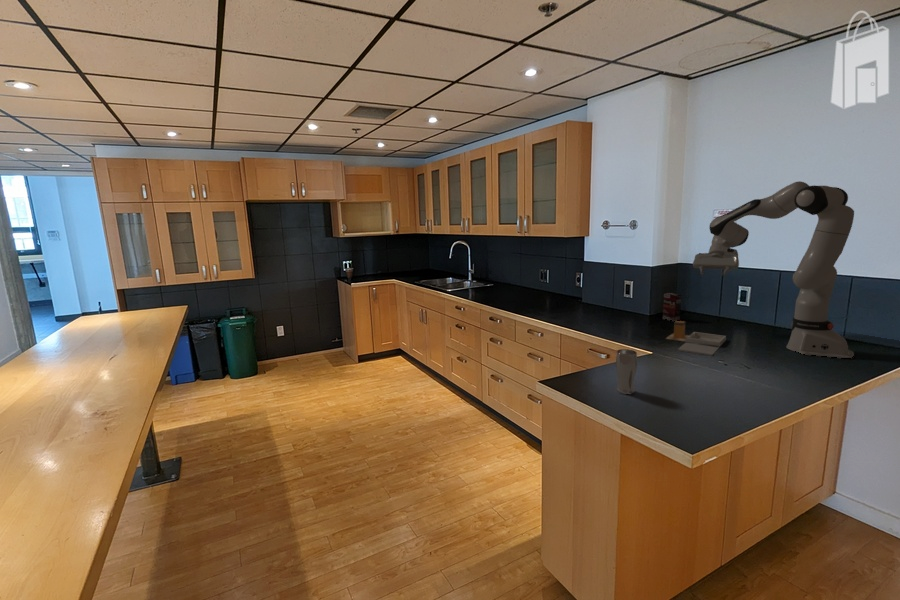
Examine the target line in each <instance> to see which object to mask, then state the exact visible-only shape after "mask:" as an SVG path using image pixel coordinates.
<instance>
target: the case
mask: <svg viewBox="0 0 900 600" xmlns="http://www.w3.org/2000/svg"><path fill="white" fill-rule="evenodd" d="M726 341H727V335H722V334H714V333H713V334H712V333H706V332H697V331H693V332H692V333H690V334H689V336H688V337H687V338H686V342H685V343H683V344H682V345H681V346H680V347H678V348H677V352H683V353H684V352H685V353H690V354H697V355H700V356H701V355H702V356H709V357H713V356H714V355H715V354H714V353H716V351H717V350H719V348H720V347H721V346H722V345H723V344H725V342H726Z"/></svg>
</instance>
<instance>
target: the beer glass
mask: <svg viewBox="0 0 900 600" xmlns="http://www.w3.org/2000/svg"><path fill="white" fill-rule="evenodd" d="M637 356H638V354H637V351H635V350H633V349H629V348H627V349H626V348H623V349H622V348H621V349H618V350H616V356H615V370H616V374H617V375H616V376H617V385H616V389H617V390H618V391H619V392H622V393H633V392H634V393H635V386H634V383H635V376H636V373H637V369H638V368H637V367H638V357H637ZM617 390H616V391H617ZM634 393H633V394H634Z"/></svg>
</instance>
